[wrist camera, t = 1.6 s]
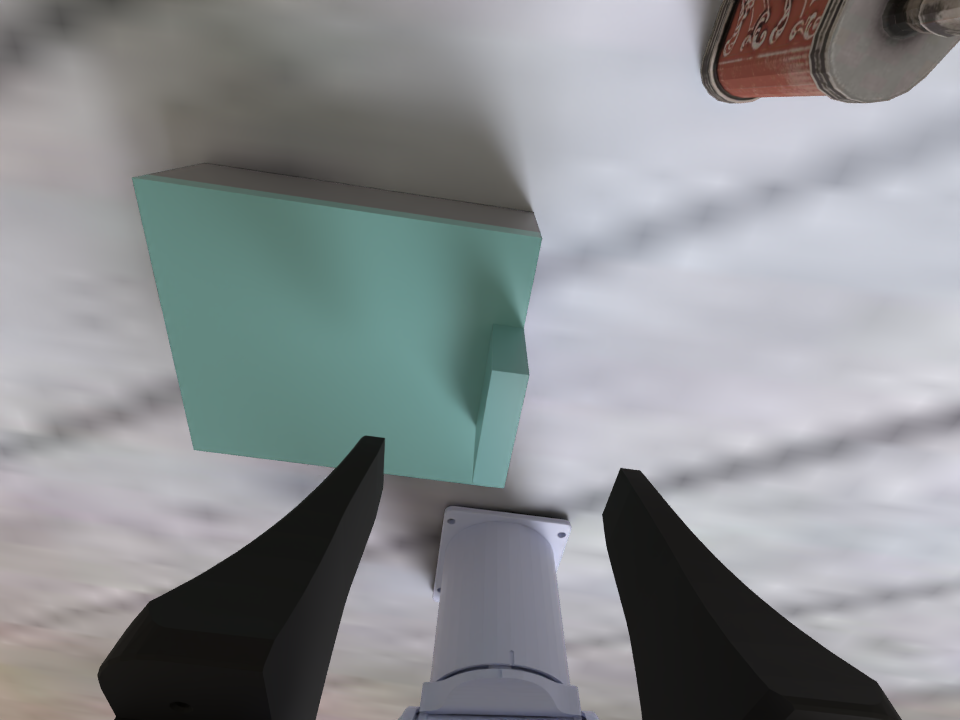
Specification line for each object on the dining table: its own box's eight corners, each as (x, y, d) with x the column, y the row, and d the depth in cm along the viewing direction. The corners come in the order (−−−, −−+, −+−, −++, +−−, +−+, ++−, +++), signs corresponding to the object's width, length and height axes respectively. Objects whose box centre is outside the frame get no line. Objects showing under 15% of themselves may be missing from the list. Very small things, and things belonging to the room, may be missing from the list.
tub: (491, 430, 25) (491, 475, 22) (239, 397, 25) (203, 438, 22) (533, 212, 20) (540, 232, 16) (203, 162, 19) (147, 174, 16)
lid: (491, 461, 23) (489, 549, 19) (214, 426, 23) (143, 508, 18) (538, 225, 17) (552, 269, 13) (165, 170, 17) (40, 196, 12)
